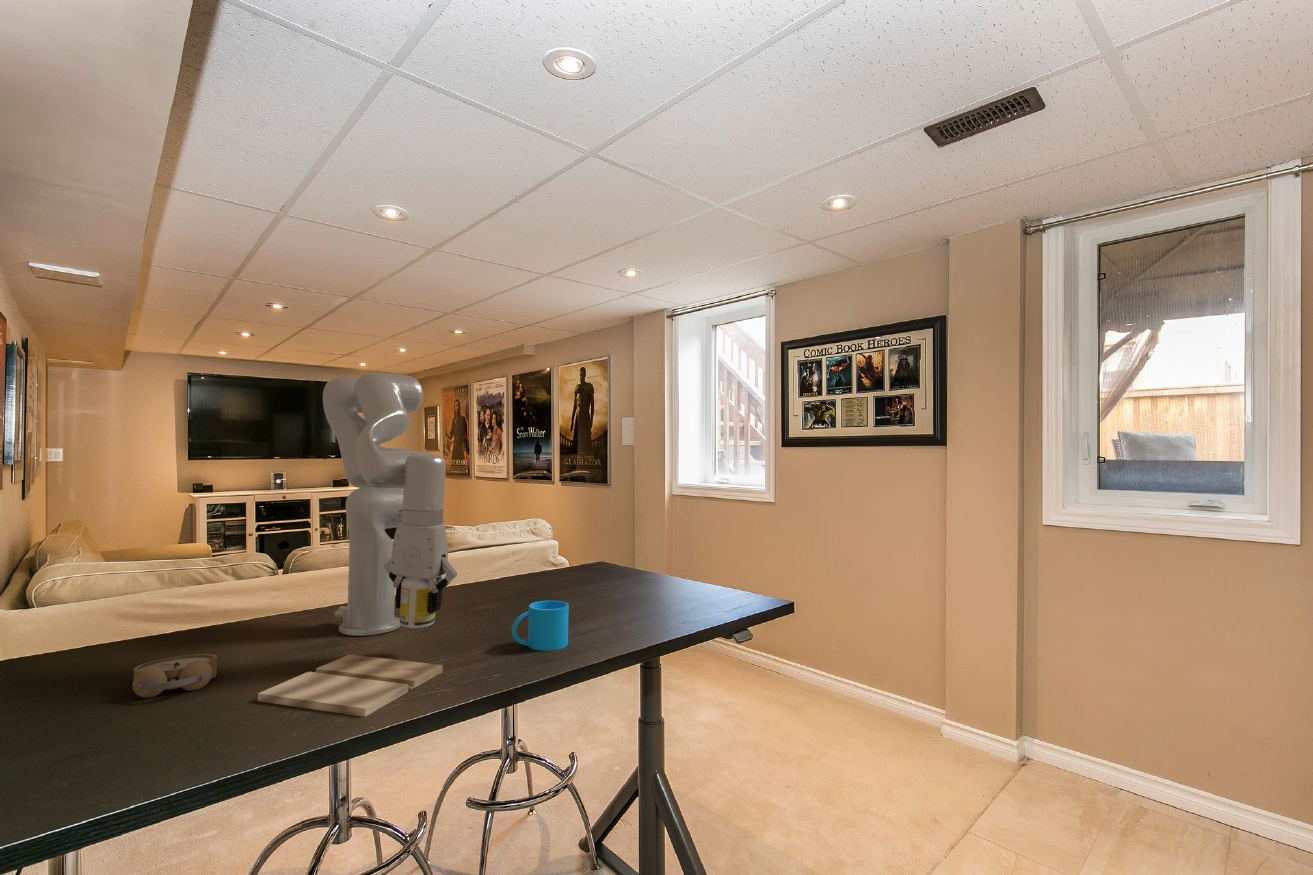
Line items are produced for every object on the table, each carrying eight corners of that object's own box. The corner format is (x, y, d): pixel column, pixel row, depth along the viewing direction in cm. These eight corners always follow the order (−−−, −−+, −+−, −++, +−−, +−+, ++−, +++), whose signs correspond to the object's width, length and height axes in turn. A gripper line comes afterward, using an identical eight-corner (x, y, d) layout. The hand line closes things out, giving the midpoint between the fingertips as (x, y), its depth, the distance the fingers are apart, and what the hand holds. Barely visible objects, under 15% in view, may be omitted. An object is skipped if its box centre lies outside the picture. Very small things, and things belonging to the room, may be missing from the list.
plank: (257, 700, 96) (257, 693, 96) (308, 678, 106) (308, 671, 106) (365, 716, 91) (365, 708, 91) (408, 691, 101) (408, 684, 101)
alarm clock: (218, 650, 112) (215, 658, 100) (217, 678, 111) (214, 690, 99) (139, 661, 106) (125, 671, 93) (137, 691, 105) (122, 705, 93)
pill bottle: (441, 622, 122) (444, 564, 121) (419, 631, 115) (422, 570, 115) (415, 616, 124) (418, 559, 124) (391, 626, 118) (394, 566, 117)
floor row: (311, 677, 107) (311, 670, 107) (349, 660, 115) (349, 654, 115) (410, 690, 102) (410, 682, 102) (442, 671, 110) (442, 665, 110)
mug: (558, 636, 133) (559, 598, 133) (574, 646, 126) (575, 607, 126) (504, 645, 126) (505, 605, 127) (518, 656, 119) (519, 614, 120)
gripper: (371, 516, 118) (366, 608, 118) (450, 524, 113) (445, 620, 114) (397, 511, 125) (392, 598, 125) (472, 519, 121) (467, 609, 121)
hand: (418, 608), depth 120 cm, fingers closed on pill bottle, 6 cm apart
